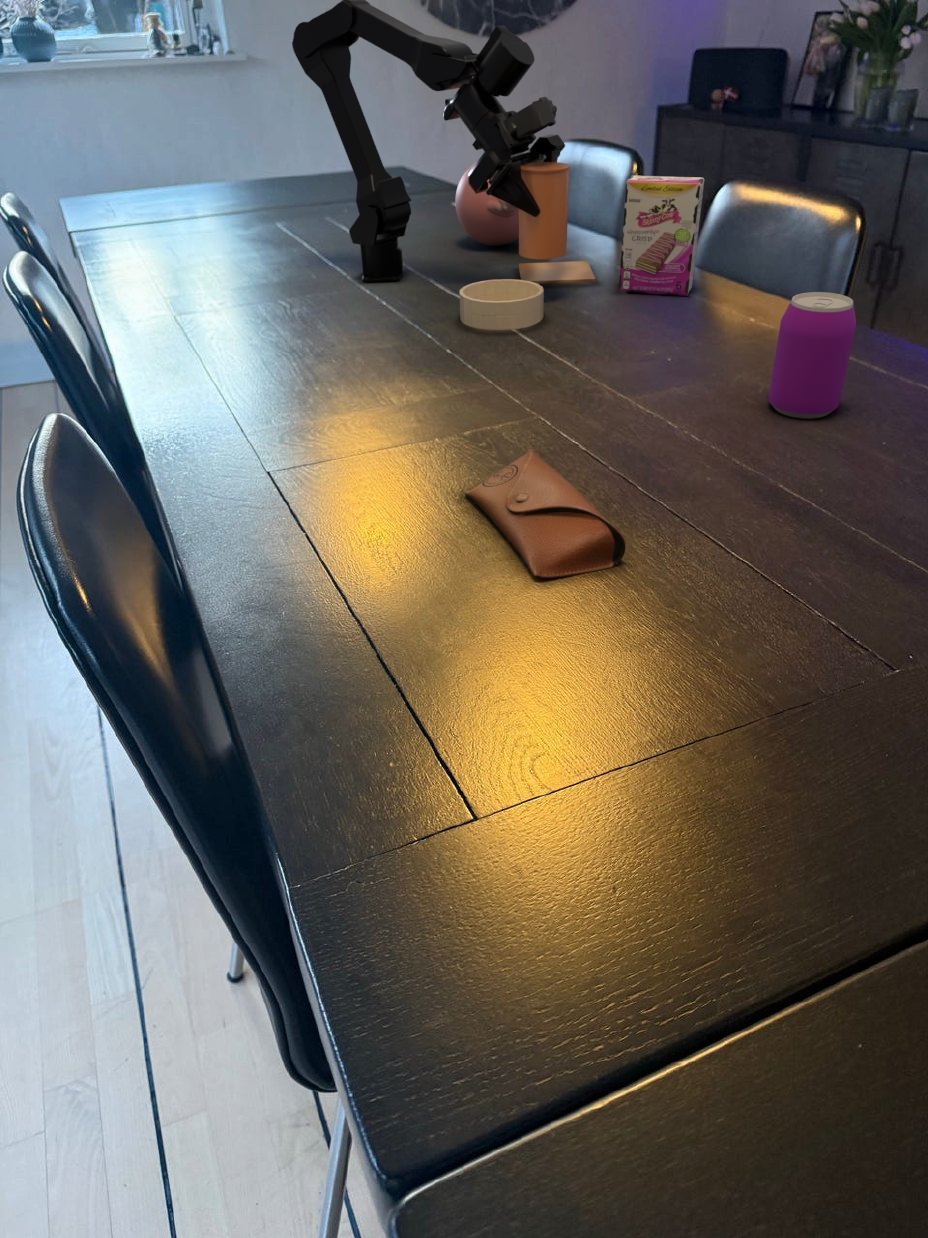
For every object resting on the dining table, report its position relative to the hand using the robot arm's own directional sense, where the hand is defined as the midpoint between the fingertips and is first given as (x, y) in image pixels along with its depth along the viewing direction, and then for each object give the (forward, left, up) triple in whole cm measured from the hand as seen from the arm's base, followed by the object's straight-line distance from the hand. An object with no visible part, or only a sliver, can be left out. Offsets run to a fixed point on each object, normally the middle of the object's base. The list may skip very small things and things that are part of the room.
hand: (551, 209), depth 132 cm
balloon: (-7, +39, -14) cm, 41 cm away
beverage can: (+25, -45, -14) cm, 54 cm away
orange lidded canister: (-1, +1, -6) cm, 6 cm away
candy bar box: (+17, +5, -14) cm, 22 cm away
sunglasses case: (-7, -71, -14) cm, 73 cm away
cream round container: (-8, -8, -13) cm, 18 cm away
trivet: (+2, +16, -13) cm, 21 cm away
